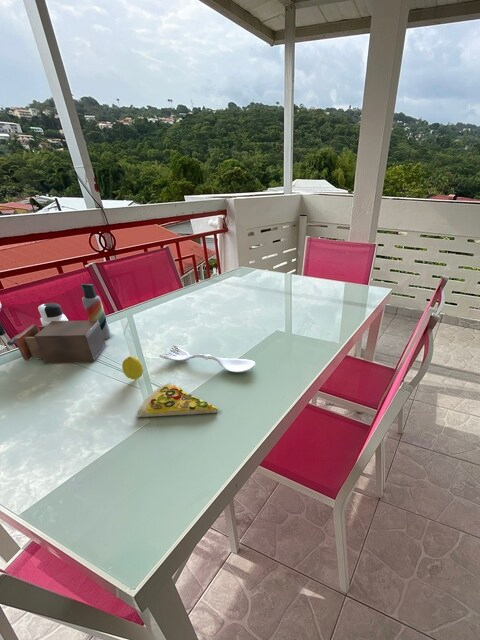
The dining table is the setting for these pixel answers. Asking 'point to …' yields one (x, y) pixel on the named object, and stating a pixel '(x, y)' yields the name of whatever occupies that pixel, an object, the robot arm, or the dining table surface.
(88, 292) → the lotion bottle
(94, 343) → the cabinet
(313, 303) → the dining table surface
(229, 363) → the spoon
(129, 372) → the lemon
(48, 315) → the container
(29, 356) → the drawer
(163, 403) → the pizza slice
